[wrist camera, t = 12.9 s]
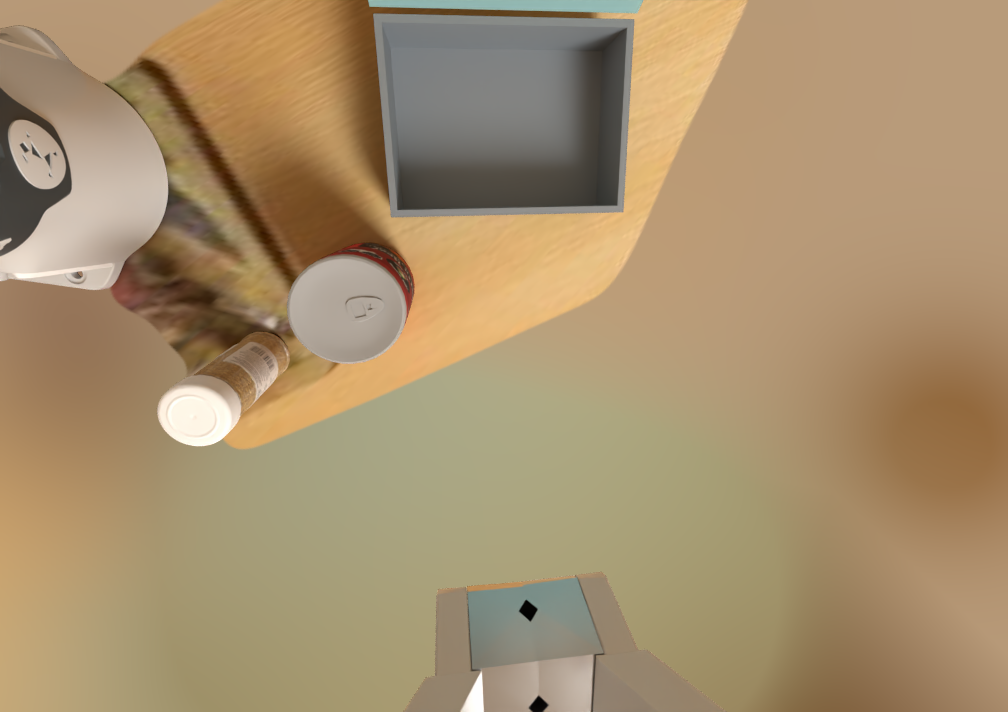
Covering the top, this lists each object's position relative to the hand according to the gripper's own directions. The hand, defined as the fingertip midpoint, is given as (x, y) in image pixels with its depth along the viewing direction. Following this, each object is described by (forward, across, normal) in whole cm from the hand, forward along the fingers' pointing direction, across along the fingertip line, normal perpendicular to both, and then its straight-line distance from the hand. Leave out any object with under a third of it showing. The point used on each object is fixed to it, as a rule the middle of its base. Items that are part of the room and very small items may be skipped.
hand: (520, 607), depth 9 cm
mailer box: (+37, -4, -12) cm, 39 cm away
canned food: (+37, +8, 0) cm, 38 cm away
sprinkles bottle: (+37, +18, +6) cm, 42 cm away
